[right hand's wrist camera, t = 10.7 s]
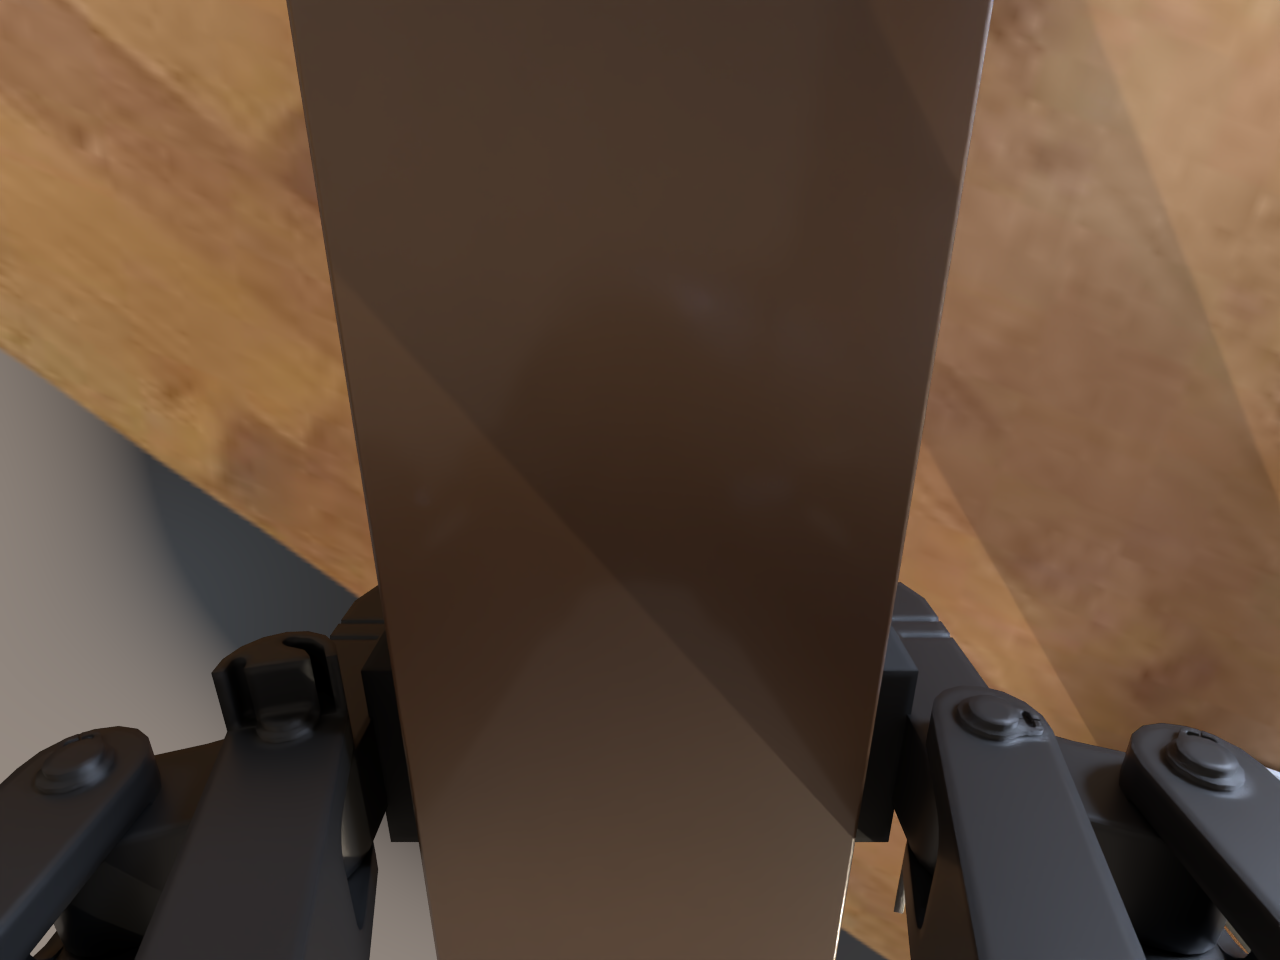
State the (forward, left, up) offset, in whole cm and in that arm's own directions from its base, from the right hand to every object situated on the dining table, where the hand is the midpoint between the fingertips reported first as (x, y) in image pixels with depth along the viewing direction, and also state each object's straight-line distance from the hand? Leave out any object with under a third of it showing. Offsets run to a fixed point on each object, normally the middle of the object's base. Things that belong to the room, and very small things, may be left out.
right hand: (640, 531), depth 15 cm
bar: (-11, -18, -1) cm, 21 cm away
